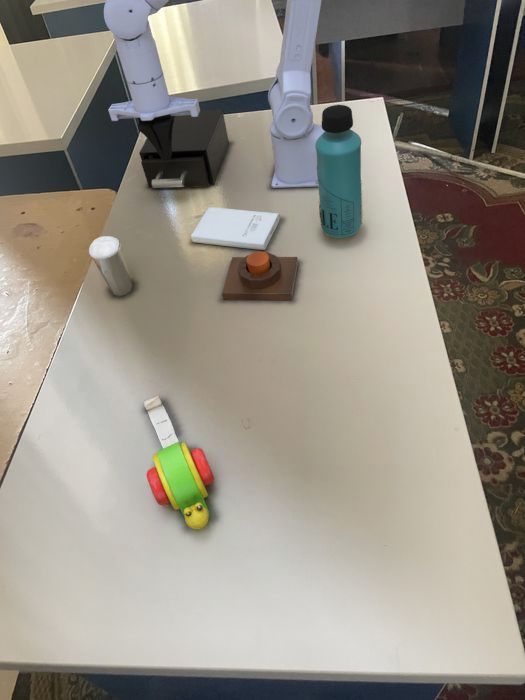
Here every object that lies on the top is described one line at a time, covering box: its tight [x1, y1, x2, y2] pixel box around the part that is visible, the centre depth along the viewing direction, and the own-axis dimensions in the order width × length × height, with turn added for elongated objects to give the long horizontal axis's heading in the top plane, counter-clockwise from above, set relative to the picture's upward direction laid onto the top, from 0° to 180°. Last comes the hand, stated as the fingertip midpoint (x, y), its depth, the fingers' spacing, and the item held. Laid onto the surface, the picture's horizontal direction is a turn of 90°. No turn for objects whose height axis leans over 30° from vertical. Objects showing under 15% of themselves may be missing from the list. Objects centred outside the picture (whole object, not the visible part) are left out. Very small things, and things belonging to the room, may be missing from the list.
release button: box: [247, 250, 270, 274], centre depth 81 cm, size 3×3×2 cm
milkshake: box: [88, 235, 133, 297], centre depth 83 cm, size 4×5×10 cm
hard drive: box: [190, 206, 281, 251], centre depth 92 cm, size 2×8×12 cm
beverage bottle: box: [315, 104, 364, 239], centre depth 81 cm, size 6×7×20 cm
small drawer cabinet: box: [138, 109, 230, 186], centre depth 106 cm, size 14×12×7 cm
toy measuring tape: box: [143, 395, 215, 530], centre depth 62 cm, size 6×20×7 cm, turn 24°
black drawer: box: [140, 154, 210, 189], centre depth 103 cm, size 18×11×5 cm, turn 171°
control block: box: [221, 251, 299, 301], centre depth 83 cm, size 10×8×3 cm
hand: (167, 157), depth 96 cm, fingers closed
